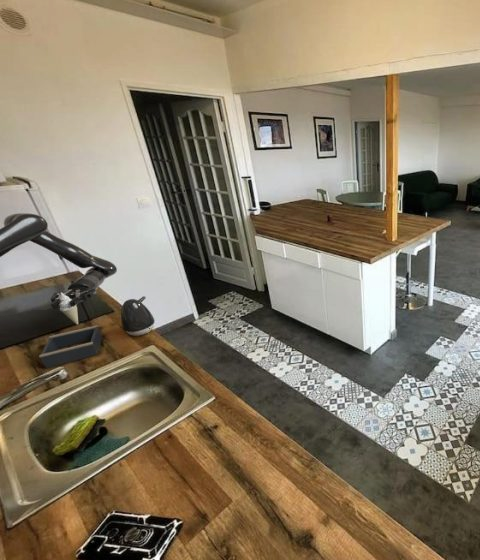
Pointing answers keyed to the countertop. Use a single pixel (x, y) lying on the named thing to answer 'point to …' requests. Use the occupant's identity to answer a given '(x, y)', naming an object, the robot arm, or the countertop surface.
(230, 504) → the countertop surface
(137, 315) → the pump dispenser
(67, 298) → the ice cream cone
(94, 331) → the basket
